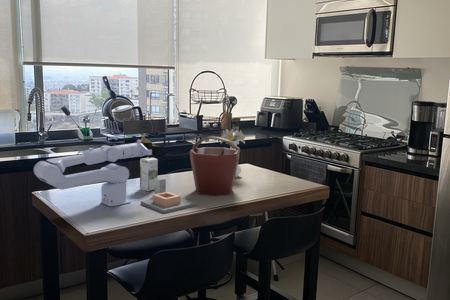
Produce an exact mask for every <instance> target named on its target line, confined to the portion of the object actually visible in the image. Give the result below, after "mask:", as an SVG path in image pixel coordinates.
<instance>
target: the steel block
mask: <svg viewBox="0 0 450 300" xmlns="http://www.w3.org/2000/svg"><path fill="white" fill-rule="evenodd" d="M154 183H155V190H154V194H159V193H164V192H167V190H166V187H167V186H166V185H167V183H166V178H164V177H158V178H154Z"/></svg>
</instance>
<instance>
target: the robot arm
mask: <svg viewBox="0 0 450 300" xmlns="http://www.w3.org/2000/svg"><path fill="white" fill-rule="evenodd" d="M161 152H163V146H161V145H153V143H152V142H145V141H142V140H140V139H136V140H134V142H133V143H125V144H117V145H112V146H110V145H102V146H100V147H97V148H93V147H89V148H88V149H86V150H84V152H82V154H74V155H68V156H62V157H54V158H48V159H46V160H40V161H38V162H37V163H36V164H35V165H34V166H33V173H34V175H35V176H36V177H37V179H39V180H40V181H42V182H44V183H46V184H48V185H50V186H53V187H54V188H56V189H59V190H61V191H62V190H69V189H72V188H77V187H79V188H80V187H83V186H87V185H88V186H89V185H93V184H98V183H103V184H102V185H101V190H100V191H101V201H100V203H101V204H103V205H105V206H108V207H116V206H120V205H125V204H131V202H132V201H131V200H128V199H127V181H128V179H129V178H130V171H129V170H130V169H128V168H127V167H126V166H122V165H118V164H117V163H114V162H117V161H118V160H123V159H124V160H125V159H129V158H137V157H139V158H140V157H144V156H147V157H146V158H154V156H155V155H157V154H160V153H161ZM106 161H108V162H110V163H109V164H106V165H105V166H103V167H101V168H100V169H94V170H89V171H83V172H77V173H71V174H65V175H64V172H65V170H66V168H68V167H73V166H75V165H80V164H83V163H84V164H86V165H87V166H91V165H95V164H100V163H104V162H106ZM111 162H113V163H111ZM104 182H105V183H104Z"/></svg>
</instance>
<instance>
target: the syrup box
mask: <svg viewBox="0 0 450 300" xmlns="http://www.w3.org/2000/svg"><path fill="white" fill-rule="evenodd" d="M158 161H159V159H158V158H155V157H152V158H148V157H145V158H143V157H142V158H140V160H139V171H140V172H139V189H140V191H144V192H151V191H155V183H154V178H158V172H159V171H158V169H159V166H158V164H159V162H158Z"/></svg>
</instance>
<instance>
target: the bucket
mask: <svg viewBox="0 0 450 300" xmlns="http://www.w3.org/2000/svg"><path fill="white" fill-rule="evenodd" d="M209 139H213V140H214V139H215V140H218V141H223V142H224V143H225V144H226V143H228V144H227V145H229V146H231V147H232V148H234V149H236V150H234V149H230V147H229V148H228V147H211V146H210V147H208V146H207V147H205V146H204V147H199V148H198V146H199V145H200V144H201V143H203V142H204V141H206V140H209ZM223 142H222V143H223ZM240 153H241V148H240V147H239V146H238V145H235V144H234V143H233V142H232V141H230V140H227V139H224V138H221V137H220V136H206V137H204V138H203V137H202V139H199V140H197V141H195V143H194V144H193V145H192V149H190V150H189V160H190V165H191V170H192V175H193V180H194V181H193V182H194V185H195V191H196V192H197V193H198V194H199V195H205V196H210V197H211V196H212V197H218V196H226V195H231V193H232V192H233V188H234V183H235V180H236V179H235V178H236V177H235V175H236V170H237V166H238V165H239V159H240Z"/></svg>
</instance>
